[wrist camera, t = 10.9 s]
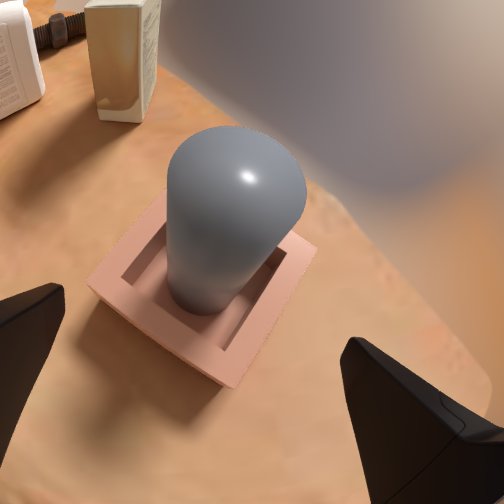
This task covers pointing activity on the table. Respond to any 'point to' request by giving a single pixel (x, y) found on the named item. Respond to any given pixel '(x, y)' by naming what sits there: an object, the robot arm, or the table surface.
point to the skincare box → (123, 56)
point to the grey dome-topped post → (227, 213)
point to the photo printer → (18, 60)
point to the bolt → (59, 30)
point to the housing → (184, 323)
